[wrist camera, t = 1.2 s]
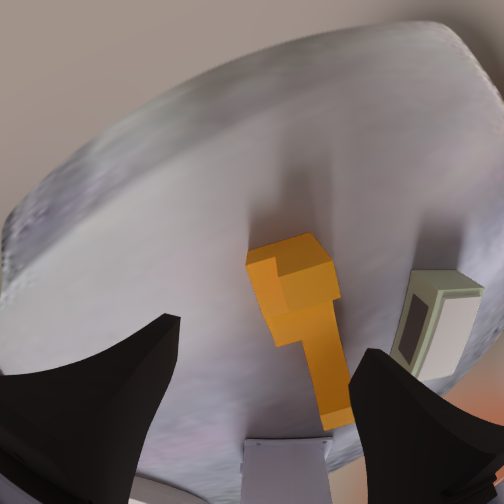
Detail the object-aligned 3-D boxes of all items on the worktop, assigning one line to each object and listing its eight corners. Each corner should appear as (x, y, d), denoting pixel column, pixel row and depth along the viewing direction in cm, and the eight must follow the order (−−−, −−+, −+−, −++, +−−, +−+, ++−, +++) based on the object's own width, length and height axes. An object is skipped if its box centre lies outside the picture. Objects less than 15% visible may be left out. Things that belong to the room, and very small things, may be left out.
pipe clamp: (248, 250, 19) (241, 288, 13) (309, 231, 18) (332, 260, 12) (292, 379, 22) (299, 437, 16) (341, 365, 21) (360, 420, 15)
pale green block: (389, 356, 21) (407, 388, 17) (411, 270, 19) (441, 292, 14) (432, 350, 21) (454, 377, 16) (456, 270, 18) (487, 289, 14)
